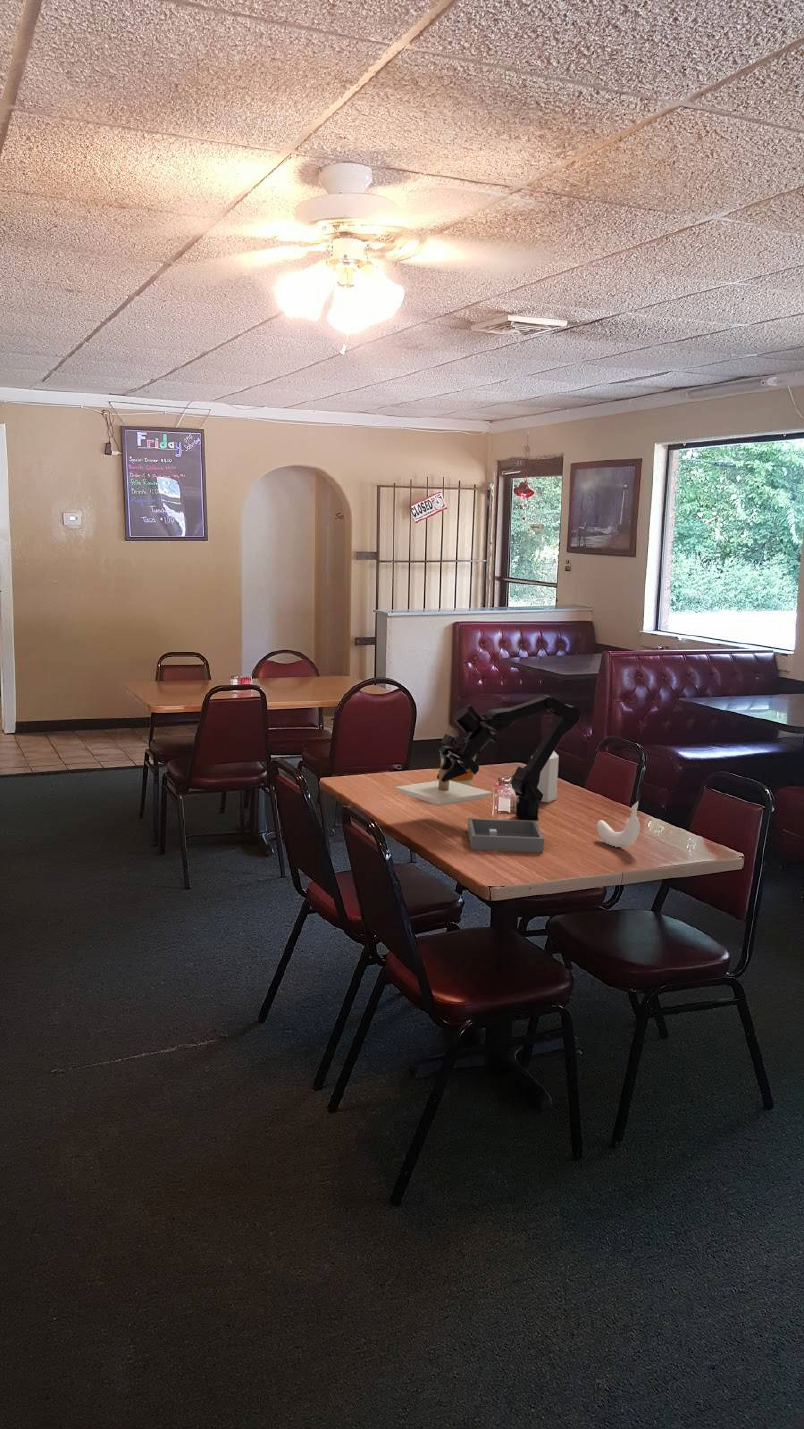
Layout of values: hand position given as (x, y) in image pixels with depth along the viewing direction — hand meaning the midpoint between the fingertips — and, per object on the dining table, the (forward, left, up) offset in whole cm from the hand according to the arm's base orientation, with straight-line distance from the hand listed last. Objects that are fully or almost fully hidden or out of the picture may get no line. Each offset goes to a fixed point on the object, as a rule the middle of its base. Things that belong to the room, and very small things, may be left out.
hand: (439, 779), depth 325 cm
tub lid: (-1, -1, -5) cm, 5 cm away
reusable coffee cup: (-8, -44, -14) cm, 47 cm away
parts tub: (-19, +19, -13) cm, 30 cm away
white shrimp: (-51, +19, -14) cm, 56 cm away
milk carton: (-37, -37, -14) cm, 54 cm away
